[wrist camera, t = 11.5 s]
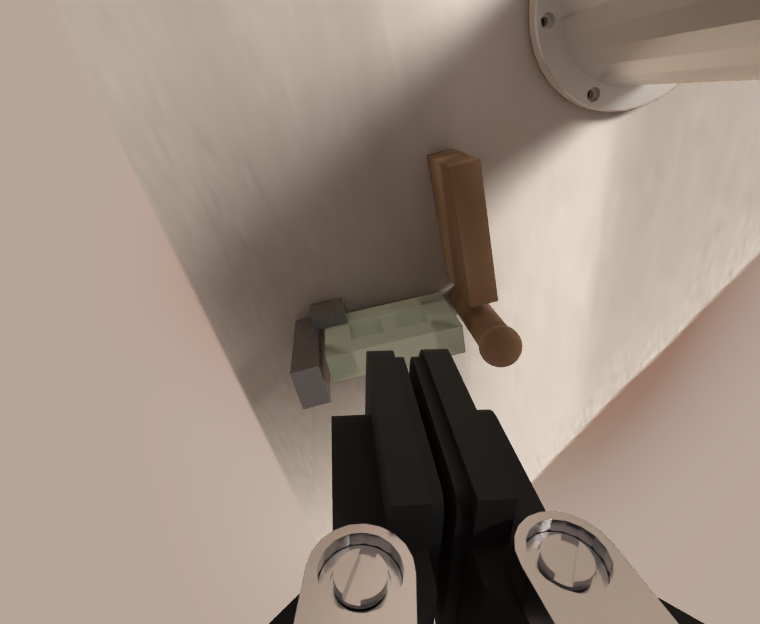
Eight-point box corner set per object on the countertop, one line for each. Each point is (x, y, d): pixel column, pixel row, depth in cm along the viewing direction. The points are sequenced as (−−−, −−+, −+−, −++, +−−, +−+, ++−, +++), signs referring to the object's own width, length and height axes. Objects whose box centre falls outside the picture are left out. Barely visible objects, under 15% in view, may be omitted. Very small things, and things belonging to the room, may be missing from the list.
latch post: (341, 296, 35) (347, 343, 29) (354, 339, 37) (362, 393, 30) (291, 309, 35) (285, 359, 28) (306, 352, 37) (303, 409, 30)
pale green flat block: (440, 291, 35) (462, 325, 30) (443, 314, 36) (465, 352, 31) (324, 318, 35) (325, 357, 30) (330, 340, 36) (332, 383, 31)
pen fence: (458, 147, 32) (510, 165, 23) (481, 305, 37) (530, 369, 28) (421, 157, 32) (459, 178, 23) (449, 314, 37) (489, 379, 28)
